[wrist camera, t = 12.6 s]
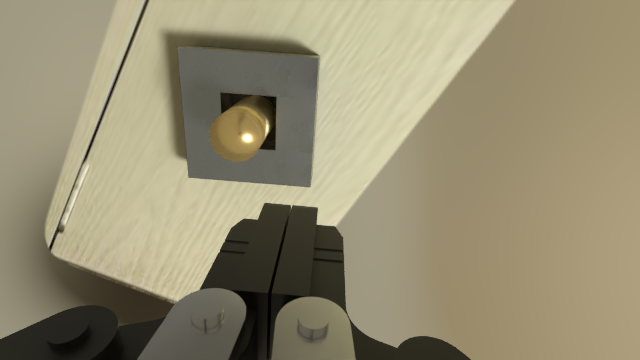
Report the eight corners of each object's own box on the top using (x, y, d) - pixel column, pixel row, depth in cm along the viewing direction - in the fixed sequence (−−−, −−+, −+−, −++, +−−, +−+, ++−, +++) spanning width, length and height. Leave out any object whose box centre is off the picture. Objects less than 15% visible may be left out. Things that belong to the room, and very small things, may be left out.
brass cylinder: (234, 93, 34) (207, 111, 26) (275, 95, 34) (259, 113, 26) (237, 133, 35) (211, 160, 28) (276, 135, 35) (261, 162, 28)
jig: (190, 45, 32) (177, 47, 29) (320, 55, 32) (318, 57, 29) (199, 166, 37) (188, 177, 34) (312, 175, 37) (310, 187, 34)
